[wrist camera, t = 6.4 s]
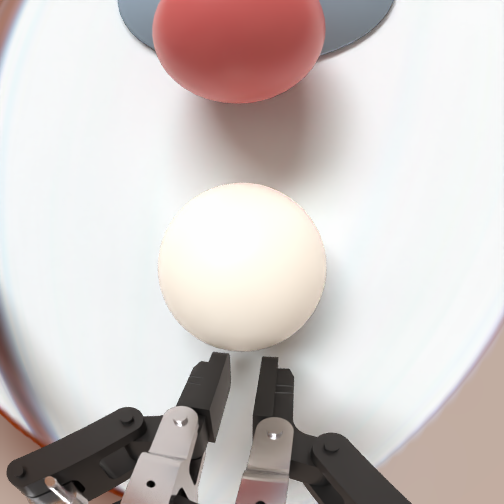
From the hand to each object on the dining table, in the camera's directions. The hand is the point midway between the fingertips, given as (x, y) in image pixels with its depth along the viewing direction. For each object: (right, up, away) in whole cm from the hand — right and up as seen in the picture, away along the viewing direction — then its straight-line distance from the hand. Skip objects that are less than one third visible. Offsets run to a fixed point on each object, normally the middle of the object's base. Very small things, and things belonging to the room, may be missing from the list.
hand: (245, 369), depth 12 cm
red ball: (0, +13, -5) cm, 14 cm away
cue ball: (0, +5, -3) cm, 6 cm away
